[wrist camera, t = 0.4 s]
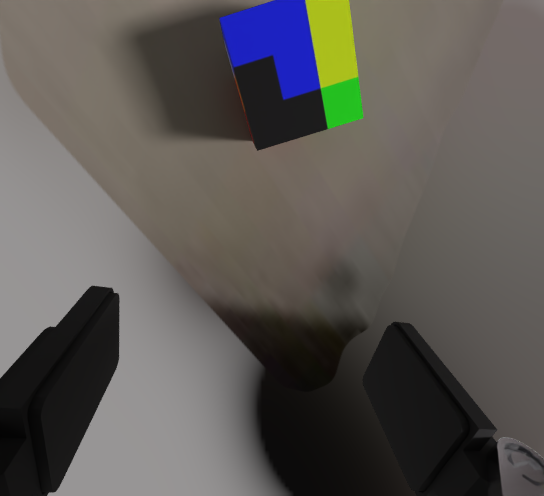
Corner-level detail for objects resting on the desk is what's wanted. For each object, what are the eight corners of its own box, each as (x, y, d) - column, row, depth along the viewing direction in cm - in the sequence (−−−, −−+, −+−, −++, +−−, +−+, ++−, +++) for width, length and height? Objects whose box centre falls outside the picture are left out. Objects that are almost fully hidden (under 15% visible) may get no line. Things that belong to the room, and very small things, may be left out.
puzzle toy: (225, 46, 31) (219, 18, 22) (314, 17, 30) (346, -23, 22) (252, 141, 35) (257, 150, 26) (331, 116, 35) (363, 118, 26)
